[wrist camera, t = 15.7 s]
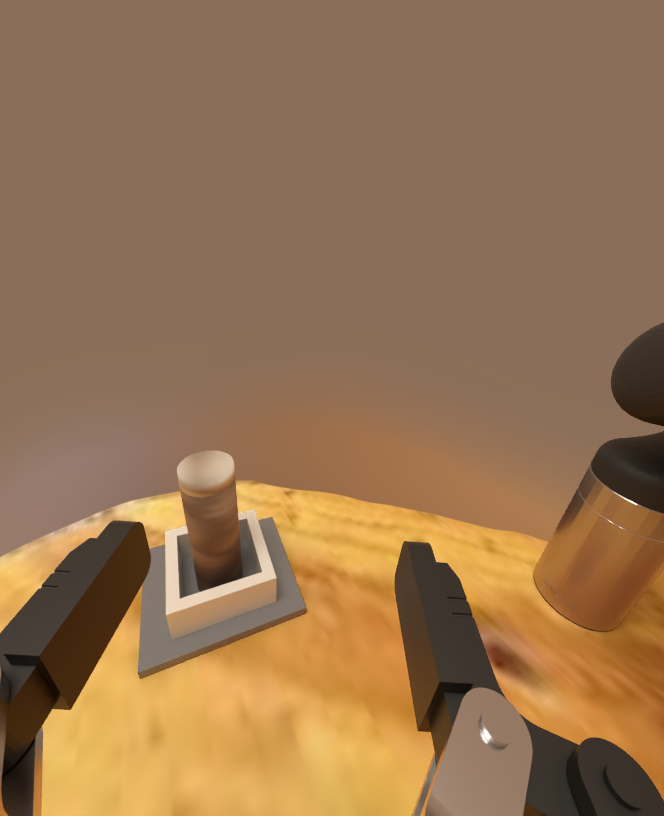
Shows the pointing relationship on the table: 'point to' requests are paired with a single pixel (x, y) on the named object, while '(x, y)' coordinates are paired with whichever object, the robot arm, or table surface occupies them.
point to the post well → (213, 597)
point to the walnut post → (211, 517)
